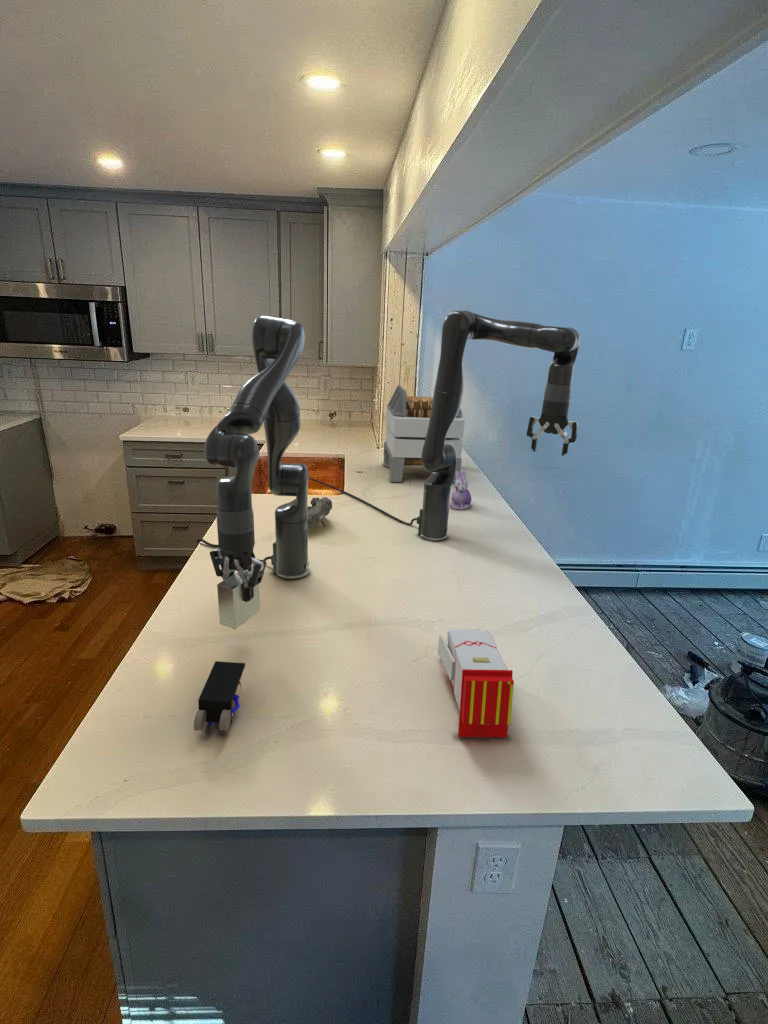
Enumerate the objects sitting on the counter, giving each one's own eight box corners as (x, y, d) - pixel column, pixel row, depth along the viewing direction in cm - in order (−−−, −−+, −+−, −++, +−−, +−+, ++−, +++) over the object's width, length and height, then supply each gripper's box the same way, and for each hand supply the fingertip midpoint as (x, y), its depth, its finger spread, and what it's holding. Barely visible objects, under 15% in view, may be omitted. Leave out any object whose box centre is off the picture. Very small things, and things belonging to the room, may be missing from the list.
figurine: (458, 511, 224) (461, 475, 219) (444, 503, 233) (446, 468, 228) (477, 508, 228) (481, 473, 223) (462, 501, 237) (466, 466, 232)
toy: (488, 613, 130) (523, 677, 101) (484, 667, 133) (517, 744, 104) (435, 612, 130) (455, 676, 101) (432, 666, 133) (451, 743, 103)
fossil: (299, 502, 213) (329, 481, 208) (315, 521, 216) (345, 501, 211) (284, 530, 194) (317, 507, 189) (302, 550, 196) (335, 528, 191)
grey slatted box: (382, 463, 289) (386, 382, 275) (445, 464, 293) (451, 384, 279) (390, 482, 257) (394, 392, 243) (460, 483, 261) (468, 394, 247)
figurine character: (231, 748, 102) (248, 688, 116) (228, 717, 99) (246, 659, 113) (194, 747, 102) (215, 687, 116) (189, 716, 99) (212, 658, 112)
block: (219, 624, 125) (217, 584, 121) (245, 606, 132) (243, 568, 129) (235, 629, 123) (232, 589, 119) (260, 611, 130) (258, 572, 127)
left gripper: (197, 524, 119) (202, 596, 125) (251, 539, 114) (254, 613, 120) (221, 514, 126) (225, 582, 132) (274, 527, 120) (276, 598, 126)
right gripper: (529, 398, 165) (522, 452, 171) (580, 403, 159) (571, 459, 165) (534, 395, 171) (528, 447, 177) (583, 400, 166) (575, 454, 171)
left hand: (239, 597), depth 126 cm, fingers closed on block, 4 cm apart
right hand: (548, 453), depth 171 cm, fingers open, 8 cm apart
